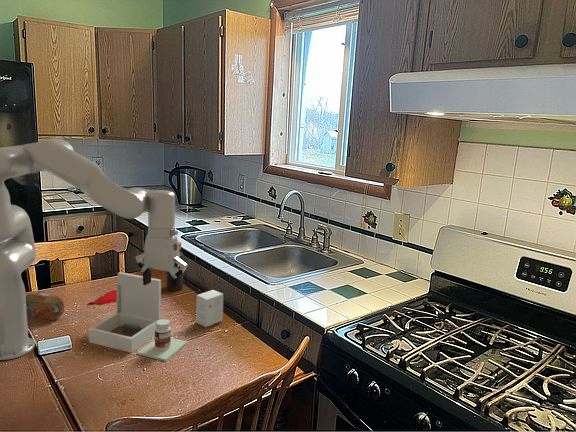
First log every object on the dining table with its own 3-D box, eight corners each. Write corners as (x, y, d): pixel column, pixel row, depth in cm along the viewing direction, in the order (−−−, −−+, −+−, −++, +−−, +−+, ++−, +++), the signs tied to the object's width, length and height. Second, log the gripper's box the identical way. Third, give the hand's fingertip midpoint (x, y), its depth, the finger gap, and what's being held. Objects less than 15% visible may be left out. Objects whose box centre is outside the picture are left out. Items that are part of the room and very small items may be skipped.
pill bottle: (154, 344, 138) (154, 319, 137) (169, 342, 140) (170, 317, 138) (155, 351, 134) (155, 326, 132) (171, 349, 136) (171, 324, 134)
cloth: (145, 286, 188) (145, 281, 188) (156, 297, 177) (156, 292, 177) (79, 297, 173) (79, 292, 172) (88, 310, 162) (87, 304, 161)
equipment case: (131, 352, 134) (131, 295, 130) (88, 342, 138) (87, 286, 135) (160, 331, 148) (160, 279, 144) (120, 322, 153) (120, 272, 149)
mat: (166, 361, 130) (166, 359, 130) (137, 354, 133) (137, 352, 133) (187, 343, 141) (187, 341, 141) (160, 337, 144) (160, 335, 144)
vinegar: (178, 284, 191) (179, 240, 187) (185, 289, 186) (186, 243, 182) (163, 287, 187) (163, 241, 183) (170, 292, 182) (171, 245, 178)
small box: (212, 316, 162) (213, 289, 160) (223, 320, 159) (223, 293, 157) (195, 322, 156) (196, 294, 154) (205, 327, 153) (206, 299, 151)
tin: (22, 315, 153) (21, 292, 152) (30, 311, 156) (28, 289, 155) (59, 322, 150) (58, 299, 148) (66, 318, 153) (65, 296, 151)
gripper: (193, 233, 131) (192, 287, 134) (144, 225, 136) (144, 278, 139) (180, 239, 124) (178, 296, 127) (128, 230, 129) (128, 285, 132)
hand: (160, 286), depth 133 cm, fingers open, 9 cm apart
